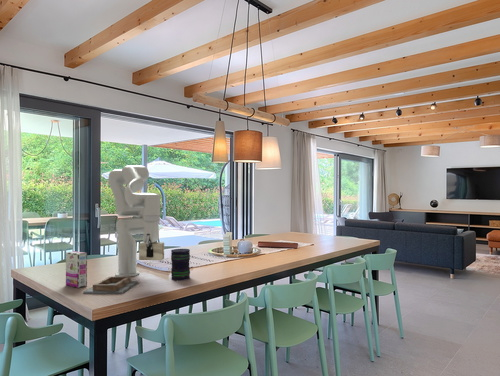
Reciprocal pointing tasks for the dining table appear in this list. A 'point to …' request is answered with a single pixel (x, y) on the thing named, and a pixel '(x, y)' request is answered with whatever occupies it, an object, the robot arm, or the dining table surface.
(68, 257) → the candy bar box
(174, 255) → the storage jar
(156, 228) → the robot arm
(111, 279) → the slot board
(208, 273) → the dining table surface
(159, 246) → the ash block
